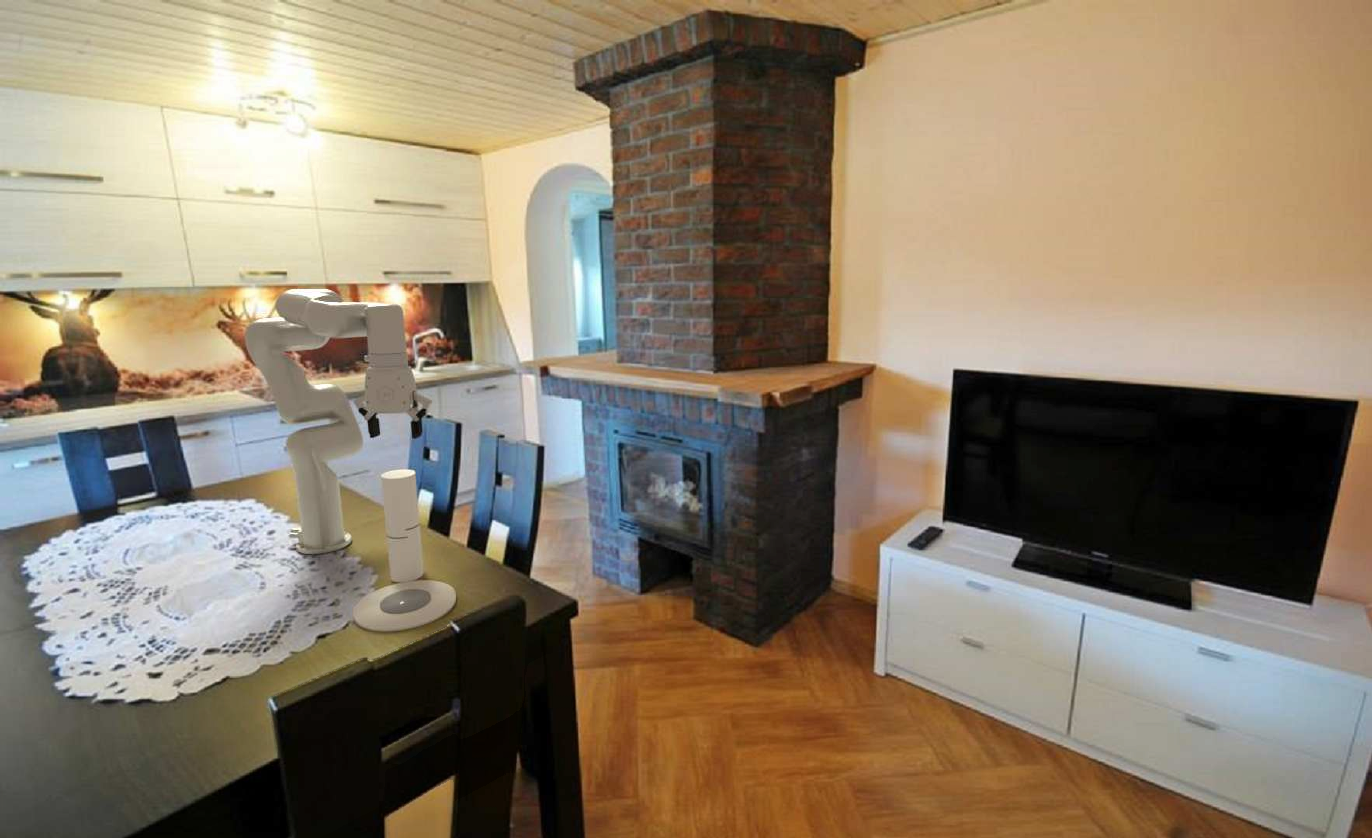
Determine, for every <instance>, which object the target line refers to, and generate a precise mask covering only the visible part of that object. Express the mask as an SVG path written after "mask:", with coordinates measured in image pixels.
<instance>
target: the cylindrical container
mask: <svg viewBox="0 0 1372 838" xmlns="http://www.w3.org/2000/svg"><path fill="white" fill-rule="evenodd" d="M416 475H417V473H416V471H415V470H413V469H408V468H407V469H394V470H393V469H392V470H390V471H386V472H384V473H382V474H380V479H381V481H380V482H381V490H382V502H383V511H384V523H385V524H384V525H385V533H386V542H387V543H386V544H387V554H388V567H389V576H390V580H391V581H393V582H395V583H402V582H408V581H417V580H418V579H419V578H421V577H422V576H423V575H424V574H425V573H424V563H423V561H424V559H423V548H422V538H421V537H422V536H421V524H420V513H419V502H418V501H419V500H418V499H419V498H418V489H417V487H418V486H417V478H416V477H417V476H416Z"/></svg>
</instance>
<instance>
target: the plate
mask: <svg viewBox="0 0 1372 838" xmlns="http://www.w3.org/2000/svg"><path fill="white" fill-rule="evenodd" d="M456 601H457V594H456V590H455V588H453V587H452V586H451V585H449V584H448V583H446V582H442V581H439V580H438V581H437V580H428V579H427V580H425V579H422V580H418V579H416V580H413V581H408V582H396V583H395V584H391V585H388V586H387V585H386V586H384V587H382V588H379V589H377V590H374V591H373V592H371V593H369V594H367V595H366V596H364V597H362V598H361V599H360V600H359V601H358V602H357V603H356V604H355V606H354V608H353V611H352V615H353V621H354V623H355V624H356V625H357V626H358V627H360V628H362V629H363V630H367V631H373V632H381V633H382V632H383V633H385V632H389V633H390V632H399V631H406V630H411V629H414V628H415V629H416V628H419V627H422V626H425V625H427V624H430V623H432V622H435V621H436V620H438V619H440V618H442V617H443V616H446V615H447V614H448V613H449V612H450V611H451V610H452V609H453V608H454V606H455V605H456Z"/></svg>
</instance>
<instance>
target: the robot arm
mask: <svg viewBox="0 0 1372 838" xmlns="http://www.w3.org/2000/svg"><path fill="white" fill-rule="evenodd" d="M274 304H275V305H274V306H275V311H276V313H277V314H278V316H279V317H269V318H268V317H267V318H262V319H257V320H254V321H252V322H250V323H249V324H248V325H247V327H246V329H245V332H244V340H245V341H244V342H245V346H246V350H247V352H248V355H249V357H250V359H251V360H252V362H253V363H254V365H255V366H256V368H257V369H258V370H259V372H260V373H261V375H262V376H263V377H264V379H265V382H266V383H267V384H266V385H267V386H268V389H269V391H270V393H271V396H272V399H273V402H274V403H275V406H276V409H277V411H278V413H279V416H280V417H281V419H282V421H283V422H284V423H285V424H287V425H289V426H301V425H308V424H313V423H319V422H325V421H326V422H327V423H326V424H320V425H313V426H310V427H303V428H300V429H298V430H295V431H293V432H292V433H291V434H290V435H288V437H287V438H286V442H285V448H286V452H287V456H288V458H289V462H290V465H291V468H292V472H293V477H294V483H295V490H296V497H297V498H296V499H297V506H298V515H299V523H300V527H292V528H291V529H290V532H289V534H288V537H289V538H290V539H297V540H298V542H297V543H296V545H295V547H296V551H297V552H298V553H300V554H305V555H319V554H326V553H327V554H328V553H331V552H334V551H338V550H340V549H342V548H345V547H347V546H348V545H349V544H351V543H352V541H353V539H352V534H350V533H349V532H347V531H345V528H344V527H345V526H344V519H343V518H344V517H343V509H342V508H343V507H342V499H341V492H340V491H341V489H340V482H339V477H338V475H337V473H336V472H335V471H334V470H333V469H332V468H331V467H330V466H328V464H327V463H329V462H332V461H336V460H337V461H338V460H341V459H344V458H345V459H346V458H349V457H352V456H356V455H357V454H359V453H360V452H361V450H362V449H363V446H364V437H363V434H362V431H361V428H360V426H359V423H358V421H357V419H356V418H357V417H356V416H355V412H354V411H353V408H352V405H351V403H350V401H349V399H348V397H347V395H346V393H345V391H343V389H342V388H340V386H338V385H335V384H332V383H331V384H330V383H324V384H322V383H321V384H316V385H315V384H314V385H313V384H311V383H310V382H309V381H308V379H307V377H306V374H305V372H304V369H303V368H302V367H301V366H300V365H299V364H298V363H297V362H296V361H295V360H293V359H292V358H290V357H289V356H287V355H286V354H284V352H294V351H297V352H298V351H308V350H316V349H320V348H322V347H324V346H325V345H326V344H327V343H328V342H329V340H330V339H347V338H361V337H362V338H363V337H366V338H367V347H368V354H367V355H364V357H363V360H364V362H367V363H369V366H370V367H367V368H366V371H365V376H364V394H363V395H361V396H359V397H357V398H356V399H354V400H353V404H354V406H355V407H356V408H357V410H358V413H359V414H361V416H363V418H364V421H366V423H367V431H368V433H369V438H370V439H374V438H377V437H379V436H380V435H381V427H380V425H381V424H380V419H379V417H377V416H378V415H379V414H407V415H408V416H409V417H410V418H411V419H412V420H411V421H410V428H411V429H410V431H411V438H412V439H413V440H414V439H415V440H416V439H418V438H420V437H422V434H423V432H424V431H423V420H422V419H424V417H425V416H426V415H427V414H428V413H429V412H430V411H429V409H430V408H431V405H432V403H433V401H432V400H431V399H430V398H428V397H426V396H424V395H422V394H420V393H418V390H417V384H416V380H415V376H414V373H413V370H412V367H411V366H409V362H408V351H407V339H406V337H407V336H406V327H405V319H404V318H405V317H404V316H405V315H404V310H403V307H402V306H401V305H399V304H396V303H381V302H375V301H374V302H370V301H369V302H365V301H364V302H344V301H343V298H342V297H341V295H339V294H338V293H336V292H335V291H333V290H330V289H322V288H321V289H317V288H316V289H311V288H310V289H307V288H306V289H303V288H301V289H300V288H297V289H289V290H285V291H284V292H282V293H281V294H280V295H279V296H277V297H276V300H275V303H274ZM419 403H420V404H421V405H422V406H421V409H419Z"/></svg>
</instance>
